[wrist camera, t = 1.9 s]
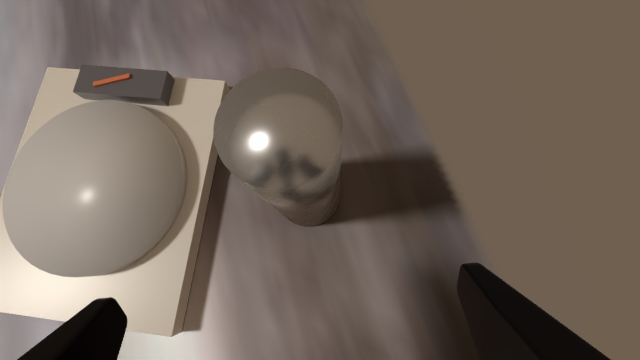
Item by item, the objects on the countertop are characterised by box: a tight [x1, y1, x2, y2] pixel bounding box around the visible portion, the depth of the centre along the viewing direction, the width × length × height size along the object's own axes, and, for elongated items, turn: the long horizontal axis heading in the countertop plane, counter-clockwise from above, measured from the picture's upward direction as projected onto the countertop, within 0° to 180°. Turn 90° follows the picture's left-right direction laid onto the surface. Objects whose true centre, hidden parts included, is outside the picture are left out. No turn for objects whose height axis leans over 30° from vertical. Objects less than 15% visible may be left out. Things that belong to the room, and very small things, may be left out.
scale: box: [0, 65, 230, 337], centre depth 20 cm, size 16×13×2 cm
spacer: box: [213, 68, 343, 227], centre depth 15 cm, size 4×4×11 cm
